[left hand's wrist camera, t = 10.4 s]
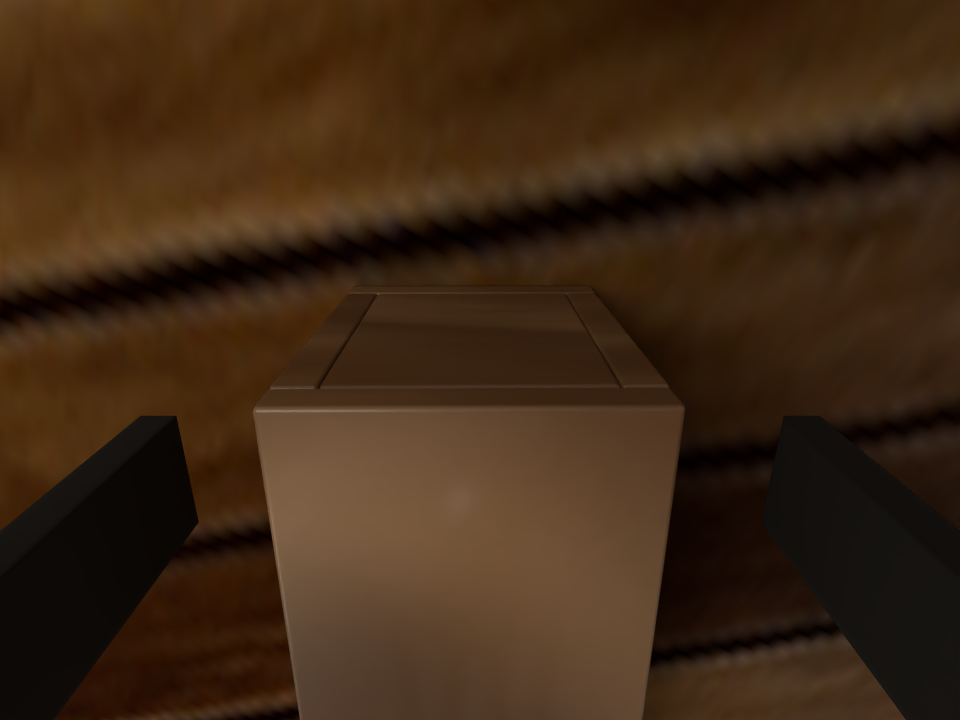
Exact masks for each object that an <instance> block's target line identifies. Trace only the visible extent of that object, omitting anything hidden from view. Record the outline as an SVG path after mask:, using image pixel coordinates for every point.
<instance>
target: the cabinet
mask: <svg viewBox="0 0 960 720" xmlns="http://www.w3.org/2000/svg"><path fill="white" fill-rule="evenodd" d="M684 415H685V407H684V405H683V403H682V402H681V401H680V400H679V398H678V397H677V396H676V395H675V393H674V392H673V391H672V390H671V389H669V385H668V384H667V382H666V381H665V380H664V379H663V377H662V376H661V375H660V374H659V373H658V371H657V370H656V369H655V368H654V366H653V365H652V364H651V363H650V361H649V360H648V359H647V358H646V356H645V355H644V354H643V353H642V351H641V350H640V349H639V348H638V346H637V345H636V344H635V343H634V341H633V340H632V339H631V338H630V336H629V335H628V334H627V333H626V331H625V330H624V329H623V328H622V326H621V325H620V324H619V323H618V321H617V320H616V319H615V318H614V316H613V315H612V314H611V313H610V311H609V310H608V309H607V308H606V306H605V305H604V304H603V303H602V301H601V300H600V299H599V298H598V296H597V295H596V294H595V292H594V291H593V290H592V289H591V287H590V286H354V287H353V288H352V289H351V290H350V292H349V293H348V294H347V296H346V297H345V298H344V299H343V300H342V301H341V303H340V304H339V305H338V306H337V307H336V309H335V310H334V311H333V312H332V313H331V315H330V316H329V317H328V318H327V319H326V321H325V322H324V323H323V324H322V325H321V326H320V328H319V329H318V330H317V331H316V332H315V334H314V335H313V336H312V337H311V338H310V340H309V341H308V342H307V343H306V344H305V346H304V347H303V348H302V349H301V350H300V352H299V353H298V354H297V355H296V356H295V357H294V359H293V360H292V361H291V362H290V363H289V365H288V366H287V367H286V368H285V369H284V371H283V372H282V373H281V374H280V375H279V377H278V378H277V379H276V380H275V381H274V382H273V384H272V385H271V386H270V390H268V391H267V392H266V393H265V394H264V395H263V397H262V398H261V399H260V400H259V401H258V403H257V404H256V405H255V406H254V409H253V416H254V422H255V429H256V435H257V442H258V448H259V455H260V462H261V468H262V475H263V481H264V488H265V494H266V501H267V507H268V514H269V520H270V527H271V533H272V540H273V546H274V553H275V559H276V566H277V572H278V579H279V585H280V592H281V598H282V605H283V611H284V618H285V624H286V631H287V637H288V644H289V651H290V657H291V664H292V670H293V677H294V683H295V690H296V696H297V703H298V709H299V716H300V720H642V719H643V711H644V704H645V697H646V690H647V682H648V675H649V668H650V661H651V653H652V646H653V639H654V632H655V625H656V617H657V610H658V603H659V596H660V588H661V581H662V574H663V567H664V559H665V552H666V545H667V538H668V530H669V523H670V516H671V509H672V501H673V494H674V487H675V480H676V473H677V465H678V458H679V451H680V444H681V436H682V429H683V422H684Z"/></svg>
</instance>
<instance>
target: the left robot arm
mask: <svg viewBox="0 0 960 720" xmlns="http://www.w3.org/2000/svg"><path fill="white" fill-rule="evenodd" d="M197 524H198V517H197V512H196V507H195V503H194V498H193V493H192V488H191V484H190V479H189V474H188V469H187V465H186V460H185V455H184V451H183V446H182V441H181V436H180V432H179V427H178V422H177V417H176V416H140V417H139V418H138V419H136V420H135V421H134V422H133V423H132V424H130V425H129V426H128V427H127V428H125V429H124V430H123V431H122V432H121V433H119V434H118V435H117V436H116V437H114V438H113V439H112V440H111V441H110V442H108V443H107V444H106V445H105V446H103V447H102V448H101V449H100V450H99V451H97V452H96V453H95V454H94V455H92V456H91V457H90V458H89V459H88V460H86V461H85V462H84V463H83V464H82V465H80V466H79V467H78V468H77V469H75V470H74V471H73V472H72V473H71V474H69V475H68V476H67V477H66V478H64V479H63V480H62V481H61V482H60V483H58V484H57V485H56V486H55V487H53V488H52V489H51V490H50V491H49V492H47V493H46V494H45V495H44V496H42V497H41V498H40V499H39V500H38V501H36V502H35V503H34V504H33V505H31V506H30V507H29V508H28V509H27V510H25V511H24V512H23V513H22V514H21V515H19V516H18V517H17V518H16V519H14V520H13V521H12V522H11V523H10V524H8V525H7V526H6V527H5V528H3V529H2V530H1V531H0V720H54V719H55V718H56V716H57V715H58V714H59V712H60V711H61V709H62V708H63V707H64V705H65V704H66V703H67V701H68V700H69V698H70V697H71V696H72V694H73V693H74V692H75V690H76V689H77V688H78V686H79V685H80V683H81V682H82V681H83V679H84V678H85V677H86V675H87V674H88V673H89V671H90V670H91V668H92V667H93V666H94V664H95V663H96V662H97V660H98V659H99V658H100V656H101V655H102V653H103V652H104V651H105V649H106V648H107V647H108V645H109V644H110V642H111V641H112V640H113V638H114V637H115V636H116V634H117V633H118V632H119V630H120V629H121V627H122V626H123V625H124V623H125V622H126V621H127V619H128V618H129V617H130V615H131V614H132V612H133V611H134V610H135V608H136V607H137V606H138V604H139V603H140V601H141V600H142V599H143V597H144V596H145V595H146V593H147V592H148V591H149V589H150V588H151V586H152V585H153V584H154V582H155V581H156V580H157V578H158V577H159V576H160V574H161V573H162V571H163V570H164V569H165V567H166V566H167V565H168V563H169V562H170V561H171V559H172V558H173V556H174V555H175V554H176V552H177V551H178V550H179V548H180V547H181V545H182V544H183V543H184V541H185V540H186V539H187V537H188V536H189V535H190V533H191V532H192V530H193V529H194V528H195V526H196V525H197ZM762 524H763V525H764V526H765V528H766V529H767V530H768V532H769V533H770V535H771V536H772V537H773V539H774V540H775V541H776V543H777V544H778V545H779V547H780V548H781V550H782V551H783V552H784V554H785V555H786V556H787V558H788V559H789V561H790V562H791V563H792V565H793V566H794V567H795V569H796V570H797V571H798V573H799V574H800V576H801V577H802V578H803V580H804V581H805V582H806V584H807V585H808V586H809V588H810V589H811V591H812V592H813V593H814V595H815V596H816V597H817V599H818V600H819V601H820V603H821V604H822V606H823V607H824V608H825V610H826V611H827V612H828V614H829V615H830V617H831V618H832V619H833V621H834V622H835V623H836V625H837V626H838V627H839V629H840V630H841V632H842V633H843V634H844V636H845V637H846V638H847V640H848V641H849V642H850V644H851V645H852V647H853V648H854V649H855V651H856V652H857V653H858V655H859V656H860V658H861V659H862V660H863V662H864V663H865V664H866V666H867V667H868V668H869V670H870V671H871V673H872V674H873V675H874V677H875V678H876V679H877V681H878V682H879V683H880V685H881V686H882V688H883V689H884V690H885V692H886V693H887V694H888V696H889V697H890V698H891V700H892V701H893V703H894V704H895V705H896V707H897V708H898V709H899V711H900V712H901V714H902V715H903V716H904V718H905V719H906V720H960V531H959V530H958V529H957V528H955V527H954V526H953V525H952V524H950V523H949V522H948V521H947V520H946V519H944V518H943V517H942V516H941V515H939V514H938V513H937V512H936V511H935V510H933V509H932V508H931V507H930V506H929V505H927V504H926V503H925V502H924V501H922V500H921V499H920V498H919V497H918V496H916V495H915V494H914V493H913V492H911V491H910V490H909V489H908V488H907V487H905V486H904V485H903V484H902V483H900V482H899V481H898V480H897V479H896V478H894V477H893V476H892V475H891V474H889V473H888V472H887V471H886V470H885V469H883V468H882V467H881V466H880V465H878V464H877V463H876V462H875V461H874V460H872V459H871V458H870V457H869V456H868V455H866V454H865V453H864V452H863V451H861V450H860V449H859V448H858V447H857V446H855V445H854V444H853V443H852V442H850V441H849V440H848V439H847V438H846V437H844V436H843V435H842V434H841V433H839V432H838V431H837V430H836V429H835V428H833V427H832V426H831V425H830V424H828V423H827V422H826V421H825V420H824V419H822V418H821V417H820V416H784V417H783V422H782V427H781V432H780V436H779V441H778V446H777V451H776V455H775V460H774V465H773V469H772V474H771V479H770V484H769V488H768V493H767V498H766V503H765V507H764V512H763V517H762Z"/></svg>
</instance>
